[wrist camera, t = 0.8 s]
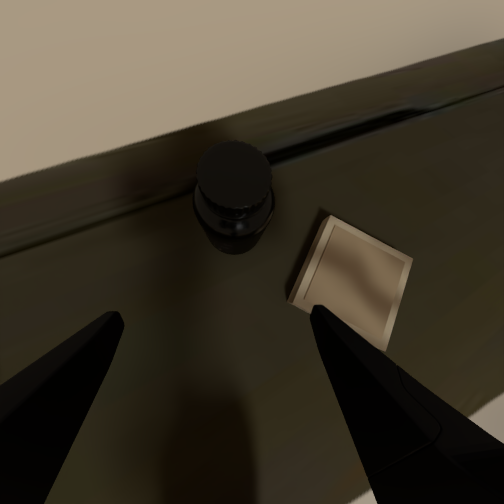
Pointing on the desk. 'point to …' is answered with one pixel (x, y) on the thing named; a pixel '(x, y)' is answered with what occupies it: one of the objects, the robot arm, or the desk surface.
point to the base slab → (353, 280)
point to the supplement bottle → (233, 196)
